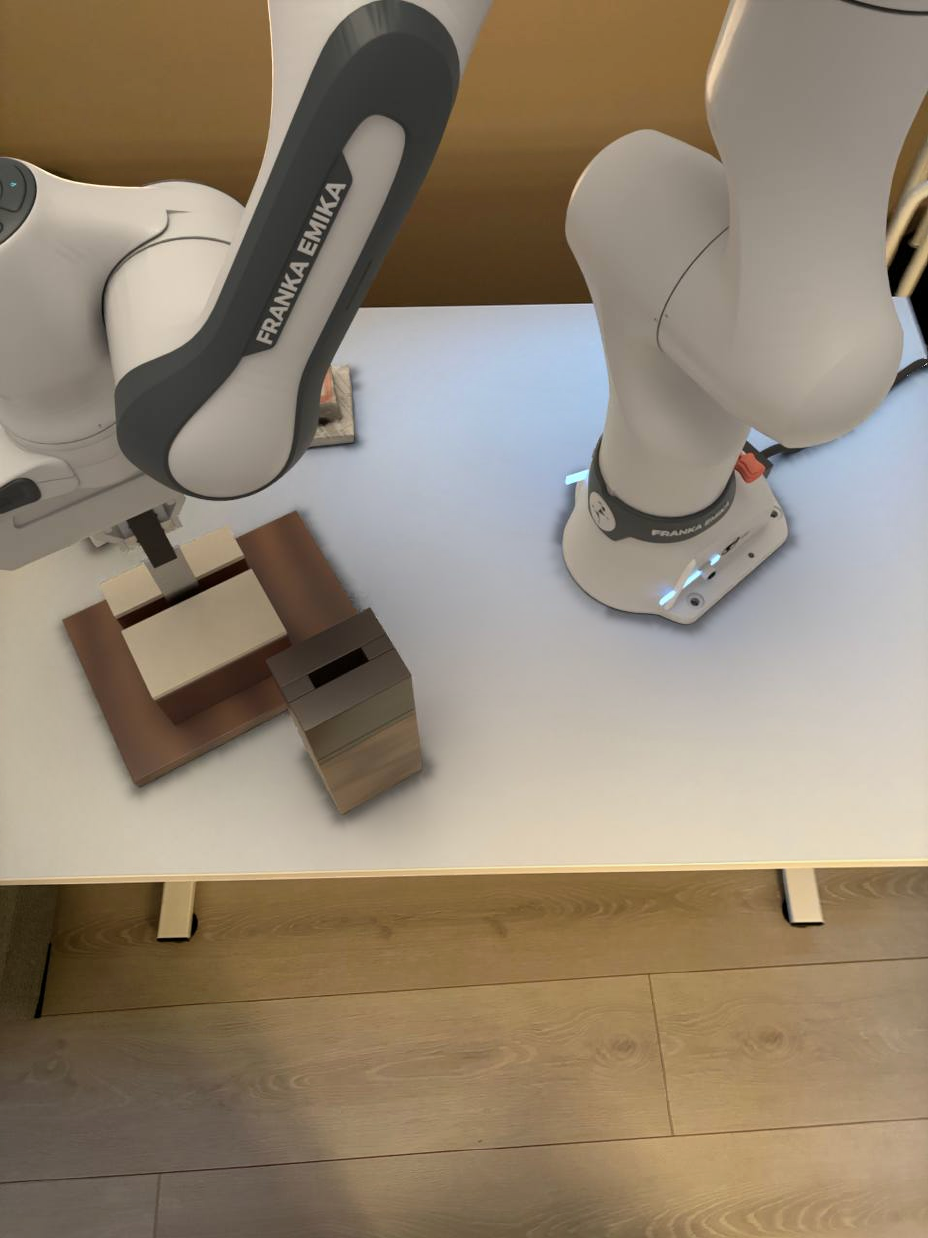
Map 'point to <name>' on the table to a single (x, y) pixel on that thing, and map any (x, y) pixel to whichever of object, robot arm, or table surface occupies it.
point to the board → (159, 746)
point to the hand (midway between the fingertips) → (149, 533)
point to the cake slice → (208, 561)
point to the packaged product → (335, 409)
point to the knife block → (352, 708)
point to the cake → (207, 646)
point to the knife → (164, 559)
